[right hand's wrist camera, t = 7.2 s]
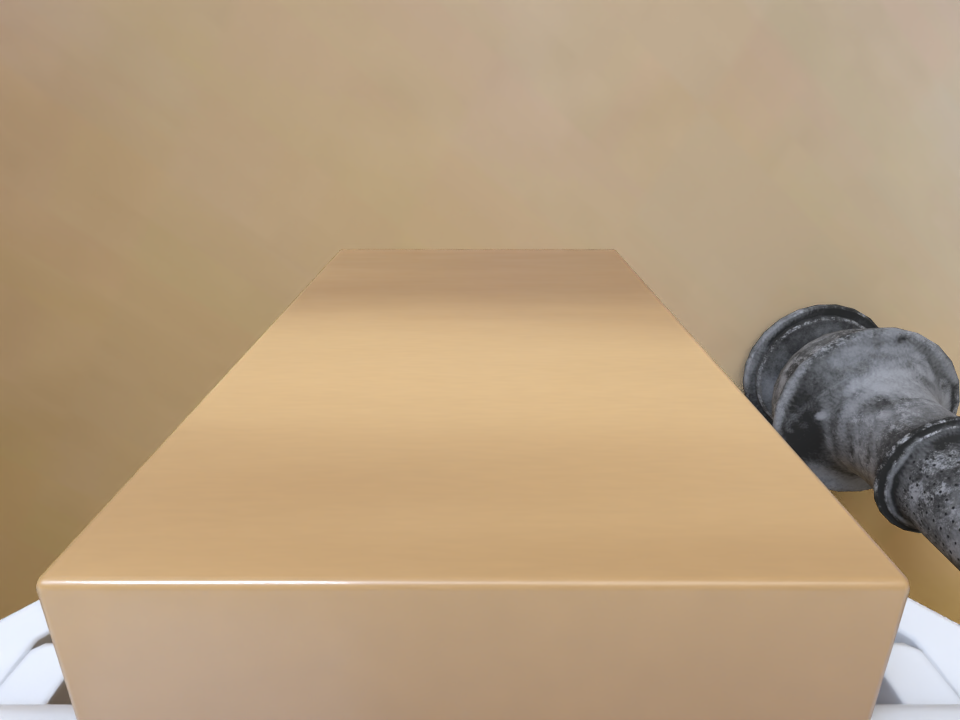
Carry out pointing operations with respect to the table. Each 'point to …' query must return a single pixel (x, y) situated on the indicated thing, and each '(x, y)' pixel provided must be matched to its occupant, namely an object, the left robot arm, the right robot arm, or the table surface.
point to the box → (474, 521)
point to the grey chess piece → (866, 413)
